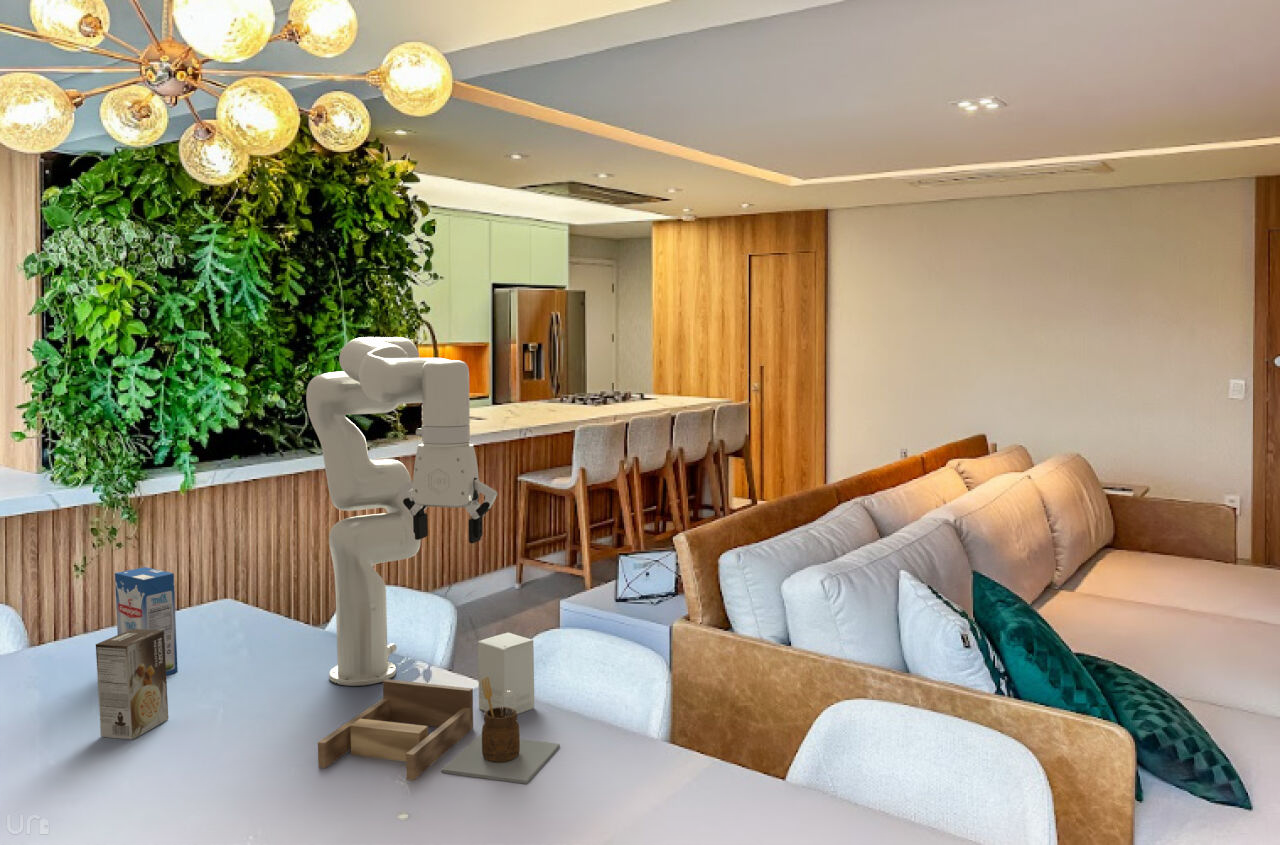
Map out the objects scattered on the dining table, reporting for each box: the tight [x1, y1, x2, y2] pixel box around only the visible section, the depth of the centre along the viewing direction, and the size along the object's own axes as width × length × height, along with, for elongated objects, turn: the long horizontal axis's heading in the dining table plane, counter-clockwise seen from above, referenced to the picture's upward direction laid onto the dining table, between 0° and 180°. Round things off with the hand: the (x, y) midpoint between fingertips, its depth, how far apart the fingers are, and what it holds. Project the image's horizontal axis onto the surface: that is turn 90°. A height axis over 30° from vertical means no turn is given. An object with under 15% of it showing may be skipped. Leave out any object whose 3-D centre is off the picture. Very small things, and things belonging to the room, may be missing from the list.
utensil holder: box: [481, 677, 521, 762], centre depth 156 cm, size 6×6×12 cm
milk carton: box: [114, 566, 179, 677], centre depth 196 cm, size 10×6×20 cm, turn 58°
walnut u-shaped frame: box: [317, 678, 474, 781], centre depth 161 cm, size 21×16×7 cm
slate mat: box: [441, 733, 561, 785], centre depth 157 cm, size 14×14×1 cm
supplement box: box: [477, 632, 535, 715], centre depth 177 cm, size 7×7×13 cm
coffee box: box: [95, 629, 169, 741], centre depth 168 cm, size 9×6×16 cm
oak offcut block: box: [350, 719, 429, 762], centre depth 158 cm, size 3×12×5 cm, turn 75°
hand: (447, 539), depth 163 cm, fingers open, 9 cm apart
